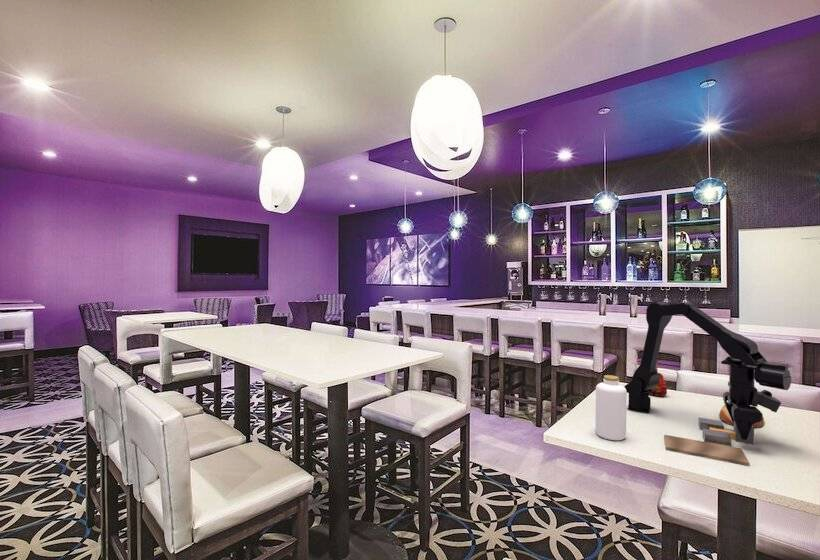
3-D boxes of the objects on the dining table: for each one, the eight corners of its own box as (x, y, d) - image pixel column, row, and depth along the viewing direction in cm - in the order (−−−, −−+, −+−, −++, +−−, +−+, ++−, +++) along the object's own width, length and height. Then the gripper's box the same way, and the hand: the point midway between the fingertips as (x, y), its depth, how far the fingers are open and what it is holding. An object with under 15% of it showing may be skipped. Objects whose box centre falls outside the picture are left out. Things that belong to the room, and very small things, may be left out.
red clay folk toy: (643, 394, 161) (644, 358, 161) (647, 391, 166) (647, 355, 166) (665, 398, 156) (666, 361, 156) (668, 394, 161) (669, 358, 161)
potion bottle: (614, 443, 114) (615, 381, 114) (589, 433, 121) (590, 375, 121) (632, 438, 118) (633, 378, 118) (607, 428, 125) (607, 372, 125)
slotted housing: (704, 442, 115) (704, 434, 115) (698, 424, 129) (698, 417, 129) (730, 447, 112) (731, 438, 112) (721, 428, 126) (721, 420, 126)
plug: (710, 437, 119) (710, 420, 119) (708, 432, 123) (709, 416, 123) (753, 444, 114) (754, 427, 114) (750, 439, 117) (750, 423, 117)
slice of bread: (735, 409, 146) (735, 398, 146) (788, 428, 128) (788, 416, 128) (691, 411, 143) (692, 400, 143) (739, 430, 125) (739, 418, 125)
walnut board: (665, 449, 110) (665, 446, 110) (664, 437, 119) (664, 434, 119) (749, 466, 101) (749, 463, 101) (741, 451, 110) (741, 448, 110)
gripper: (788, 394, 105) (787, 452, 105) (769, 378, 121) (768, 429, 121) (734, 387, 110) (733, 443, 111) (723, 373, 126) (722, 421, 127)
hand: (740, 433), depth 117 cm, fingers open, 9 cm apart
